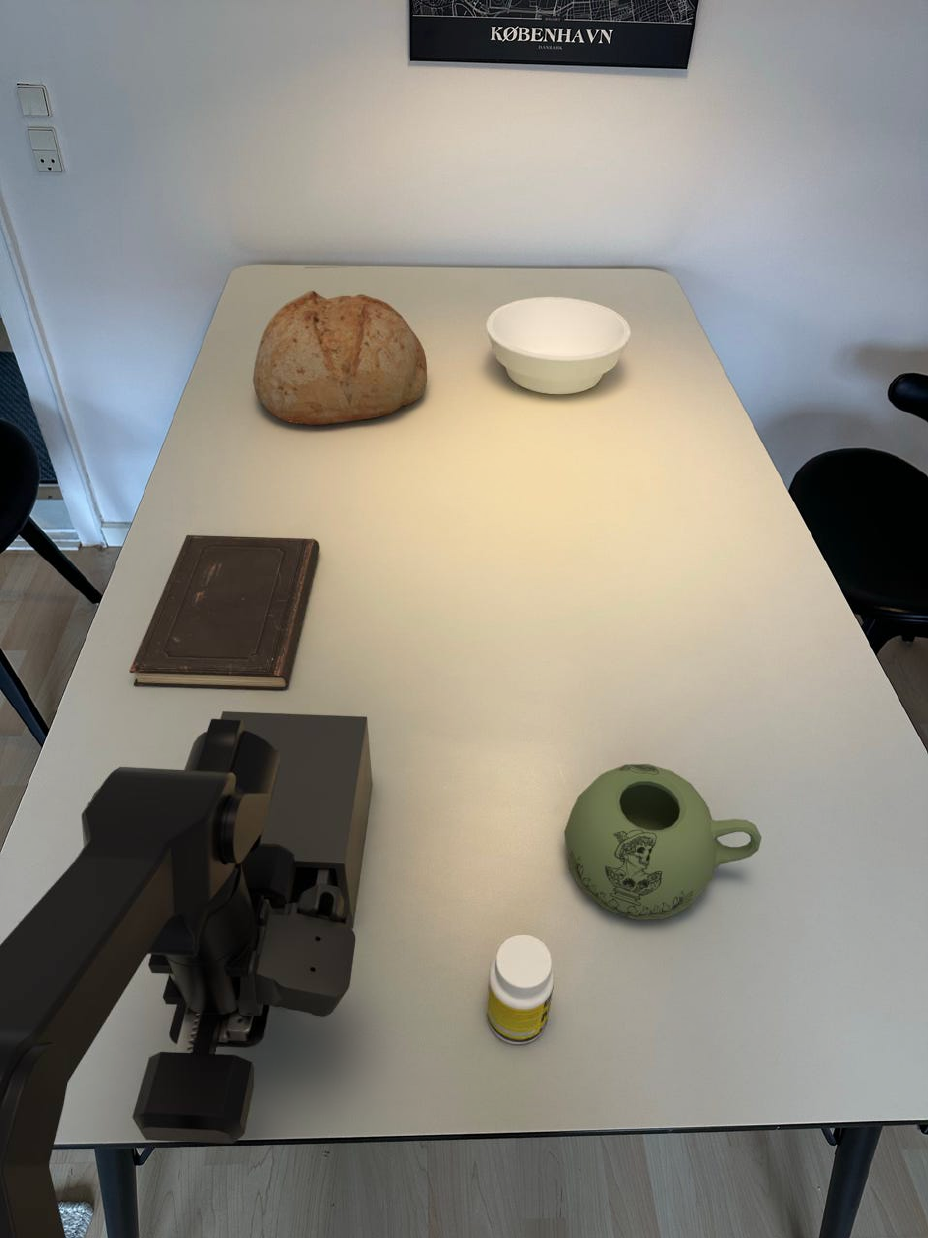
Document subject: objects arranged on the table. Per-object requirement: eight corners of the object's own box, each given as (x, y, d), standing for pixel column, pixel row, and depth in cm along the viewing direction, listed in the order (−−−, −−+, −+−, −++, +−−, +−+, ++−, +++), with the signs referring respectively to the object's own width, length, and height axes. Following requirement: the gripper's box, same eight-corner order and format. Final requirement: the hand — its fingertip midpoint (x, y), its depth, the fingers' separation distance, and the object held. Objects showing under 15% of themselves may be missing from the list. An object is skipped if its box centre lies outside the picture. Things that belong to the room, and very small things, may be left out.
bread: (420, 356, 150) (419, 265, 140) (436, 428, 133) (436, 331, 123) (259, 363, 147) (245, 271, 137) (253, 438, 130) (238, 340, 120)
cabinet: (353, 928, 74) (344, 863, 67) (200, 922, 74) (177, 856, 68) (372, 784, 85) (367, 716, 78) (239, 779, 85) (222, 710, 78)
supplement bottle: (549, 1046, 67) (559, 995, 61) (486, 1045, 67) (490, 993, 61) (546, 984, 71) (555, 929, 65) (485, 983, 71) (489, 928, 65)
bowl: (580, 335, 157) (585, 287, 151) (650, 394, 142) (659, 343, 136) (461, 357, 150) (462, 308, 144) (522, 421, 135) (526, 369, 129)
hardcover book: (134, 686, 93) (129, 670, 92) (190, 549, 110) (186, 534, 109) (288, 691, 93) (285, 675, 92) (320, 553, 110) (318, 538, 109)
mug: (554, 917, 75) (564, 859, 69) (566, 792, 84) (576, 731, 78) (751, 948, 73) (778, 891, 67) (740, 817, 83) (763, 757, 77)
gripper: (315, 1093, 46) (338, 1187, 57) (358, 796, 60) (371, 916, 71) (99, 1084, 46) (163, 1180, 57) (192, 789, 60) (229, 910, 71)
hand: (243, 1032), depth 64 cm, fingers closed
